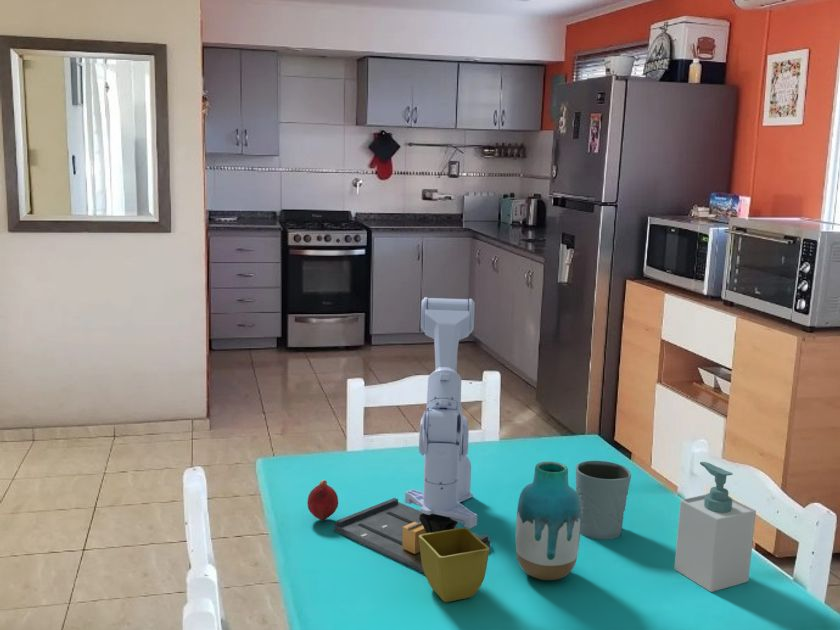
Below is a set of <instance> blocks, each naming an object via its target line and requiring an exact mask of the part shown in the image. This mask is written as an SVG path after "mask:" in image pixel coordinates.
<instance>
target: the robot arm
mask: <svg viewBox="0 0 840 630" xmlns="http://www.w3.org/2000/svg"><path fill="white" fill-rule="evenodd" d="M420 303H421V304H420V305H421V306H420V328H421V330H422V331H423V332H424V335H425V336H426V337H429V338H431V339H433V341H434V342H433V343H434V362H435V363H434V364H435V370H434V371H432V372H431V373H430V374H429V376H428V377H427V379H428V380H427V394H426V408H425V409H426V410H424V411H423V415H422V417H421V418H420V426H419V434H418V437H419V439H418V453H419V454H420V455H421V456H424V463H423V465H424V468H423V472H424V473H423V491H421V490H416V489H414V488H412V489H410V490H407V491H405V493H404V504H405V503H406V504H408V505H410V504H411V505H412V504H413V505H416V506H418V507H420V511H421V512H422V513H423V514H421V515H420V516H419V520H420V521H421V523H422V525H423V527H424V529H425V531H426V534H427V533H433V532H439V531H444V530H450V529H454V528H455V526H457V525H458V523H460V524H462V525H464V527H466V528H468V529H469V530H470V529H472V528H474V527H475V526H478V514H477V513H475V512H473V511H471V510H470V509H469V508H468V507H466V506H464V505H463V504H461V502H464V501H466V500H469V499H470V498H473V497H474V494H473V493H471V487H472V486H471V484H472V482H471V481H472V464H471V461H470V458H469V457H468V454H469V436H470V435H469V434H470V433H469V431H470V429H469V420H468V418H467V417H466V415H464V414H463V408H462V405H463V404H462V402H461V401H462V376H461V375H460V374H459V373H457V371H458V369H457V368H458V348H459V342H460V340H463V339H466V338H469V336H470V335H471V333H472V332H473V331H474V329H475V328H474V327H475V305H476V304H475V301H474V300H473V298H467V299H466V298H441V297H438V298H436V297H428V296H424V298H423V299H421V302H420Z"/></svg>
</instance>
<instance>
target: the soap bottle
mask: <svg viewBox="0 0 840 630" xmlns="http://www.w3.org/2000/svg"><path fill="white" fill-rule="evenodd" d="M699 464H700V465H701V466H702V467H703V468H705V470H706V471H707V472H708V473H709V474H710V475H711V476H712V477H713V476H714V482H715V486H712V487H711V488H710V490H709V492H708V493H706V494H703V495H698V496H692V497H688V498H683V499H680V502H679V503H680V504H679V516H678V523H677V524H678V526H677V537H676V547H675V548H676V549H675V557H674V558H675V560H674V567H673V568H674V571H676V572H678V573H680V574H682V576H684V577H686V578H687V579H689V580H690V581H692V582H694V583H695V584H696V585H697V584H698V585H699V586H700V587H702V588H703V589H705V590H707V591H709V592H710V593H713V592H717V591H720V590H723V589H726V588H730V587H734V586H737V585H741V584H744V583H748V582H749V578H750V569H751V560H752V550H753V543H754V535H755V534H754V533H755V524H756V515H757V514H756V513H757V510H755V509H753V508H751V507H750V506H747V505H745V504H743V503H741V502H739V501H737V500H735V499H733V498H731V496H730V495H729V493H730V492H729V490H728V489H727V488H725V487H724V485H725V484H726V483H727V476H732V475H734V474H733V472H731V471H727V470H726V469H723V468H721V467H718V466H716V465H715V464H712V463H711V462H706V461H700V462H699Z"/></svg>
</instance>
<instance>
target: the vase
mask: <svg viewBox="0 0 840 630" xmlns="http://www.w3.org/2000/svg"><path fill="white" fill-rule="evenodd" d="M533 474H534V475H533V481H532V482H531V483H529V484H527V485H525V487H523V488H522V490H521V491H520V493H519V497H518V503H517V509H516V510H517V511H516V521H515V522H516V523H515V551H516V553H515V554H516V558H517V561H518V562H517V563H518V564H519V566H520V567H521V569H522V570H523V571H524V573H526V574H527V575H529V576H531V577H533V578H535V579H539V580H543V581H556V580H561V579H563V578H565V577H567V576H568V575H569V574H570V573H572V572H571V571H572V570H574V567H575V565H576V562H577V559H578V554H579V547H580V539H581V534H580V527H581V507H580V499H579V496H578V494H577V492H576V489H574V488H572V486H571V487H570V486H569V469H568V467H567V466H566V465H565V464H562V463H560V462H557V461H542V462H538V463H537V464H536V465H535V466H534V473H533Z"/></svg>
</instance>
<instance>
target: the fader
mask: <svg viewBox="0 0 840 630" xmlns="http://www.w3.org/2000/svg"><path fill="white" fill-rule="evenodd" d="M421 534H426V531H425V529H424V527H423V525H422V523H421V522H419V523H417V522H413V523H410V524H408V525H406V526H403V540H402V548H403V549H405V550H407V551H410V552H412V553H414V554H416V553H418V552H420V544H419V535H421Z"/></svg>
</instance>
